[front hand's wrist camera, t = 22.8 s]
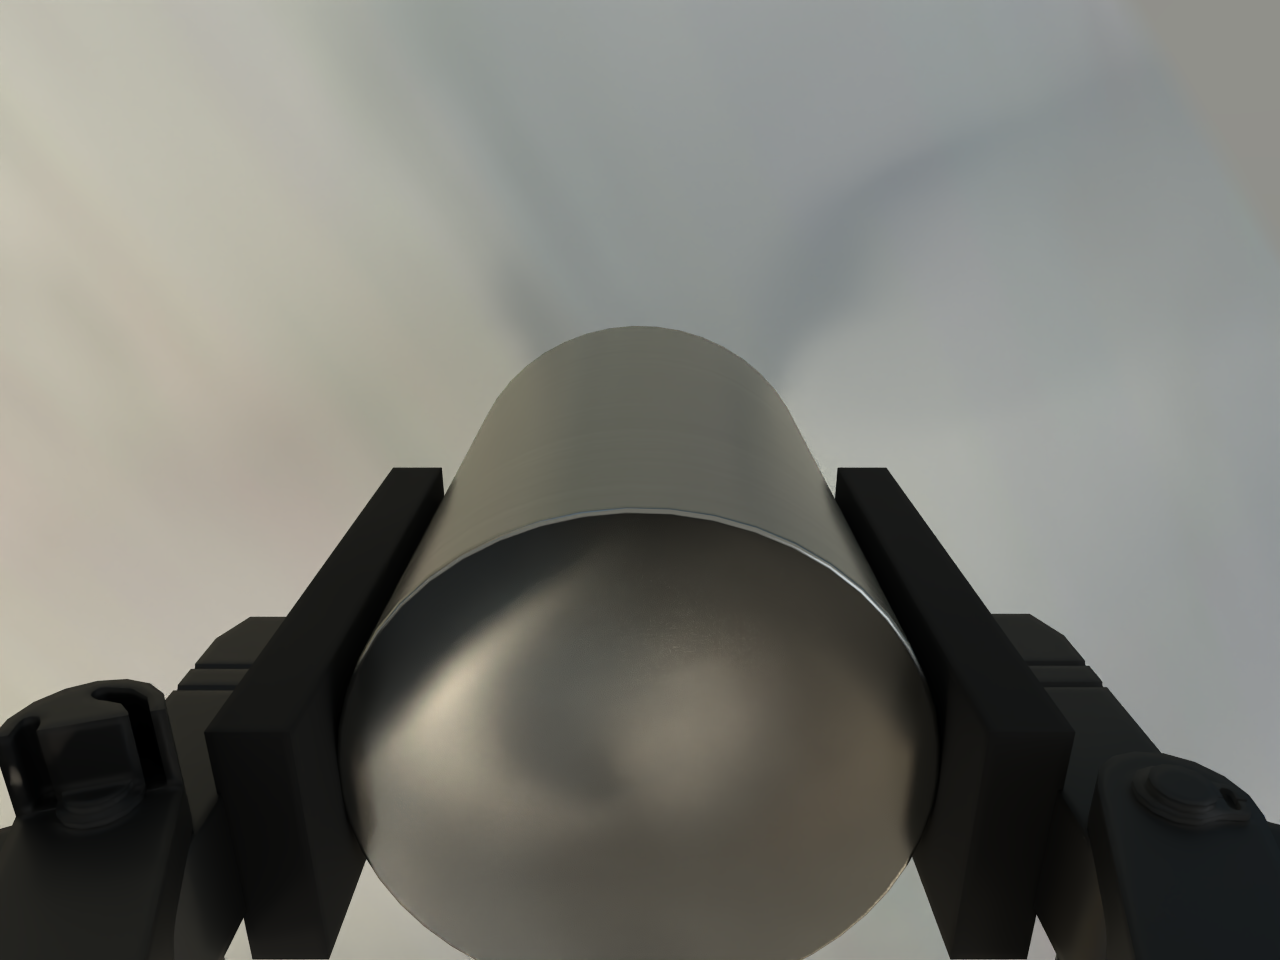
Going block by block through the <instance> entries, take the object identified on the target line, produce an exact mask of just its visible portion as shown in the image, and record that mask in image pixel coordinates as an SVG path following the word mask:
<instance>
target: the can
mask: <svg viewBox="0 0 1280 960" xmlns="http://www.w3.org/2000/svg"><path fill="white" fill-rule="evenodd" d="M337 764H338V771H339V778H340V785H341V792H342V798H343V803H344V806H345V810H346V814H347V817H348V821H349V824H350V826H351V828H352V831H353V833H354V835H355V837H356V839H357V842H358V844H359V846H360V848H361V851H362V853H363V854H364V856H365V857H366V859H367V861H368V862H369V864H370V865H371V867H372V868H373V870H374V872H375V873H376V875H377V876H378V878H379V879H380V881H381V882H382V883H383V884H384V885H385V887H386V888H387V889H388V890H389V891H390V893H391V894H392V895H393V896H394V897H395V898H396V900H397V901H398V902H399V903H400V904H401V905H402V906H403V907H404V908H405V909H406V910H407V911H408V912H409V913H410V914H411V915H413V916H414V917H415V918H416V919H417V920H418V921H419V922H420V923H421V924H422V925H423V926H424V927H426V928H427V929H429V930H430V931H431V932H433V933H434V934H435V935H437V936H438V937H440V938H441V939H442V940H444V941H445V942H446V943H448V944H449V945H451V946H452V947H454V948H456V949H457V950H459V951H461V952H463V953H464V954H466V955H468V956H470V957H471V958H473V959H475V960H802V959H804V958H806V957H808V956H810V955H812V954H814V953H815V952H817V951H818V950H820V949H821V948H823V947H824V946H826V945H828V944H829V943H831V942H832V941H834V940H835V939H837V938H838V937H840V936H841V935H842V934H844V933H845V932H846V931H847V930H848V929H850V928H851V927H852V926H853V925H855V924H856V923H857V922H858V921H859V920H861V919H862V918H863V917H864V916H865V915H867V913H868V912H869V911H870V910H871V909H872V908H873V907H874V906H875V905H876V904H877V903H878V902H879V901H880V900H881V899H882V898H883V896H884V895H885V894H886V893H887V892H888V891H889V890H890V888H891V887H892V886H893V884H894V883H895V882H896V880H897V879H898V877H899V876H900V875H901V873H902V872H903V870H904V869H905V868H906V866H907V865H908V863H909V861H910V859H911V857H912V855H913V854H914V852H915V850H916V848H917V846H918V844H919V842H920V840H921V838H922V837H923V834H924V831H925V828H926V825H927V822H928V820H929V817H930V814H931V811H932V808H933V804H934V799H935V794H936V788H937V783H938V778H939V766H940V736H939V729H938V721H937V714H936V707H935V704H934V701H933V698H932V694H931V691H930V688H929V685H928V681H927V678H926V675H925V673H924V671H923V669H922V667H921V665H920V663H919V661H918V659H917V657H916V655H915V653H914V651H913V649H912V647H911V645H910V643H909V641H908V639H907V637H906V635H905V633H904V631H903V629H902V628H901V626H900V624H899V622H898V620H897V618H896V616H895V614H894V612H893V610H892V608H891V606H890V604H889V603H888V601H887V599H886V597H885V595H884V593H883V591H882V589H881V587H880V585H879V583H878V581H877V579H876V577H875V576H874V574H873V572H872V570H871V568H870V566H869V564H868V562H867V560H866V558H865V556H864V554H863V552H862V551H861V549H860V547H859V545H858V543H857V541H856V539H855V537H854V535H853V533H852V531H851V529H850V527H849V525H848V524H847V522H846V520H845V518H844V516H843V514H842V512H841V510H840V508H839V506H838V504H837V502H836V500H835V498H834V497H833V495H832V493H831V491H830V489H829V487H828V485H827V483H826V481H825V479H824V477H823V475H822V473H821V472H820V470H819V468H818V466H817V464H816V462H815V460H814V458H813V456H812V454H811V452H810V450H809V448H808V446H807V445H806V443H805V441H804V439H803V437H802V435H801V433H800V431H799V429H798V427H797V425H796V423H795V421H794V420H793V418H792V416H791V414H790V412H789V410H788V408H787V406H786V405H785V403H784V402H783V401H782V399H781V398H780V396H779V395H778V393H777V392H776V390H775V389H774V388H773V387H772V386H771V385H770V384H769V382H768V381H767V380H766V379H765V378H764V377H763V376H762V375H761V374H760V373H759V372H758V371H757V370H756V369H754V368H753V367H752V366H751V365H750V364H748V363H747V362H746V361H745V360H743V359H742V358H741V357H739V356H737V355H736V354H734V353H733V352H731V351H729V350H728V349H726V348H724V347H723V346H721V345H718V344H716V343H714V342H712V341H709V340H707V339H705V338H703V337H700V336H696V335H693V334H690V333H686V332H683V331H680V330H674V329H667V328H661V327H648V326H628V327H618V328H609V329H605V330H600V331H596V332H592V333H588V334H585V335H582V336H579V337H577V338H574V339H571V340H569V341H566V342H564V343H562V344H560V345H558V346H556V347H555V348H553V349H551V350H549V351H547V352H545V353H544V354H542V355H541V356H540V357H538V358H537V359H536V360H534V361H533V362H531V363H530V364H529V365H527V366H526V367H525V368H524V369H523V370H522V371H521V372H520V373H519V374H518V375H517V376H516V377H515V378H514V379H512V380H511V381H510V383H509V384H508V385H507V386H506V388H505V389H504V390H503V391H502V393H501V394H500V395H499V397H498V398H497V399H496V401H495V403H494V404H493V406H492V408H491V410H490V411H489V413H488V415H487V416H486V418H485V420H484V422H483V424H482V426H481V428H480V430H479V431H478V433H477V435H476V437H475V439H474V441H473V443H472V445H471V447H470V449H469V450H468V452H467V454H466V456H465V458H464V460H463V462H462V464H461V466H460V467H459V469H458V471H457V473H456V475H455V477H454V479H453V481H452V483H451V485H450V486H449V488H448V490H447V492H446V494H445V496H444V498H443V500H442V502H441V504H440V505H439V507H438V509H437V511H436V513H435V515H434V517H433V519H432V521H431V522H430V524H429V526H428V528H427V530H426V532H425V534H424V536H423V538H422V540H421V541H420V543H419V545H418V547H417V549H416V551H415V553H414V555H413V557H412V558H411V560H410V562H409V564H408V566H407V568H406V570H405V572H404V574H403V576H402V577H401V579H400V581H399V583H398V585H397V587H396V589H395V591H394V593H393V595H392V596H391V598H390V600H389V602H388V604H387V606H386V608H385V610H384V612H383V613H382V615H381V617H380V619H379V621H378V623H377V625H376V627H375V629H374V631H373V632H372V634H371V636H370V638H369V640H368V642H367V644H366V646H365V648H364V649H363V651H362V653H361V655H360V657H359V659H358V661H357V663H356V666H355V669H354V671H353V674H352V676H351V679H350V681H349V684H348V686H347V689H346V692H345V695H344V700H343V705H342V709H341V714H340V719H339V723H338V738H337Z"/></svg>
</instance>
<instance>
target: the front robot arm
mask: <svg viewBox="0 0 1280 960" xmlns="http://www.w3.org/2000/svg"><path fill="white" fill-rule="evenodd" d="M443 498H444V488H443V476H442V468H393V469H392V470H391V471H390V473H389V474H388V476H387V477H386V478H385V480H384V481H383V483H382V484H381V485H380V487H379V488H378V490H377V491H376V492H375V494H374V495H373V497H372V498H371V499H370V501H369V502H368V504H367V505H366V506H365V508H364V509H363V511H362V512H361V513H360V515H359V516H358V517H357V519H356V520H355V522H354V523H353V524H352V526H351V527H350V529H349V530H348V531H347V533H346V534H345V536H344V537H343V538H342V540H341V541H340V543H339V544H338V545H337V547H336V548H335V550H334V551H333V552H332V554H331V555H330V557H329V558H328V559H327V561H326V562H325V564H324V565H323V566H322V568H321V569H320V571H319V572H318V573H317V575H316V576H315V577H314V579H313V580H312V582H311V583H310V584H309V586H308V587H307V589H306V590H305V591H304V593H303V594H302V596H301V597H300V598H299V600H298V601H297V603H296V604H295V605H294V607H293V608H292V610H291V611H290V612H289V614H288V615H287V617H249V618H248V619H246V620H245V621H243V622H241V623H240V624H238V625H237V626H235V627H234V628H232V629H230V630H229V631H227V632H226V633H224V634H222V635H221V636H219V637H218V638H216V639H215V640H214V642H213V643H212V644H211V645H210V646H209V648H208V649H207V650H206V651H205V653H204V654H203V655H202V656H201V657H200V659H199V660H198V661H197V662H196V663H195V669H191V670H190V671H189V672H188V673H187V674H186V676H185V677H184V678H183V679H182V681H181V682H180V683H179V684H178V689H177V691H172V693H171V694H170V695H169V696H168V698H167V699H166V700H165V698H164V694H163V693H162V692H161V691H159V690H158V689H157V688H155V687H154V686H153V685H151V684H150V683H145V682H140V681H134V680H129V679H121V680H105V681H96V682H91V683H87V684H83V685H79V686H75V687H71V688H67V689H64V690H61V691H59V692H57V693H54V694H52V695H50V696H47V697H45V698H42V699H40V700H38V701H35V702H33V703H32V704H30V705H29V706H27V707H26V708H24V709H23V710H21V711H19V712H18V713H16V714H15V715H13V716H12V717H10V718H9V719H7V721H6V722H5V723H4V724H3V725H2V726H1V727H0V768H1V771H2V774H3V777H4V780H5V783H6V786H7V790H8V793H9V796H10V799H11V802H12V805H13V808H14V811H15V814H16V818H15V820H14V823H13V825H12V826H9V827H5V828H2V829H0V960H225V958H224V956H225V954H226V952H227V950H228V948H229V946H230V944H231V942H232V940H233V938H234V936H235V934H236V932H237V930H238V928H239V926H240V924H241V922H242V920H243V918H244V922H245V926H246V931H247V936H248V940H249V945H250V949H251V954H252V959H329V958H330V955H331V953H332V950H333V947H334V945H335V942H336V939H337V937H338V934H339V931H340V928H341V926H342V923H343V920H344V918H345V915H346V912H347V910H348V907H349V904H350V902H351V899H352V896H353V893H354V891H355V888H356V885H357V883H358V880H359V877H360V875H361V872H362V869H363V867H364V864H365V861H366V857H365V856H364V854H363V853H362V851H361V848H360V846H359V844H358V842H357V839H356V837H355V835H354V833H353V831H352V828H351V826H350V824H349V821H348V817H347V814H346V810H345V806H344V803H343V798H342V792H341V785H340V778H339V771H338V764H337V738H338V723H339V719H340V714H341V709H342V705H343V700H344V695H345V692H346V689H347V686H348V684H349V681H350V679H351V676H352V674H353V671H354V669H355V666H356V663H357V661H358V659H359V657H360V655H361V653H362V651H363V649H364V648H365V646H366V644H367V642H368V640H369V638H370V636H371V634H372V632H373V631H374V629H375V627H376V625H377V623H378V621H379V619H380V617H381V615H382V613H383V612H384V610H385V608H386V606H387V604H388V602H389V600H390V598H391V596H392V595H393V593H394V591H395V589H396V587H397V585H398V583H399V581H400V579H401V577H402V576H403V574H404V572H405V570H406V568H407V566H408V564H409V562H410V560H411V558H412V557H413V555H414V553H415V551H416V549H417V547H418V545H419V543H420V541H421V540H422V538H423V536H424V534H425V532H426V530H427V528H428V526H429V524H430V522H431V521H432V519H433V517H434V515H435V513H436V511H437V509H438V507H439V505H440V504H441V502H442V500H443ZM835 500H836V502H837V504H838V506H839V508H840V510H841V512H842V514H843V516H844V518H845V520H846V522H847V524H848V525H849V527H850V529H851V531H852V533H853V535H854V537H855V539H856V541H857V543H858V545H859V547H860V549H861V551H862V552H863V554H864V556H865V558H866V560H867V562H868V564H869V566H870V568H871V570H872V572H873V574H874V576H875V577H876V579H877V581H878V583H879V585H880V587H881V589H882V591H883V593H884V595H885V597H886V599H887V601H888V603H889V604H890V606H891V608H892V610H893V612H894V614H895V616H896V618H897V620H898V622H899V624H900V626H901V628H902V629H903V631H904V633H905V635H906V637H907V639H908V641H909V643H910V645H911V647H912V649H913V651H914V653H915V655H916V657H917V659H918V661H919V663H920V665H921V667H922V669H923V671H924V673H925V675H926V678H927V681H928V685H929V688H930V691H931V694H932V698H933V701H934V704H935V707H936V714H937V721H938V729H939V736H940V766H939V778H938V783H937V788H936V794H935V799H934V804H933V808H932V811H931V814H930V817H929V820H928V822H927V825H926V828H925V831H924V834H923V837H922V838H921V840H920V842H919V844H918V846H917V848H916V850H915V852H914V854H913V855H912V857H913V860H914V863H915V865H916V868H917V871H918V873H919V876H920V879H921V881H922V884H923V887H924V890H925V892H926V895H927V898H928V900H929V903H930V906H931V908H932V911H933V914H934V916H935V919H936V922H937V925H938V927H939V930H940V933H941V935H942V938H943V941H944V943H945V946H946V949H947V951H948V954H949V957H950V959H1027V956H1028V951H1029V947H1030V942H1031V937H1032V933H1033V928H1034V923H1035V919H1036V914H1037V916H1038V918H1039V920H1040V922H1041V924H1042V926H1043V928H1044V930H1045V932H1046V934H1047V936H1048V938H1049V940H1050V942H1051V944H1052V946H1053V948H1054V950H1055V952H1056V958H1055V960H1280V825H1278V824H1274V823H1271V822H1267V821H1266V819H1265V816H1264V815H1263V813H1262V812H1261V811H1260V809H1259V808H1258V807H1257V805H1256V804H1255V802H1254V801H1253V800H1252V798H1251V797H1250V796H1249V795H1248V794H1247V793H1246V792H1244V791H1243V790H1242V789H1240V788H1239V787H1238V786H1236V785H1235V784H1234V783H1232V782H1231V781H1230V780H1228V779H1227V778H1226V777H1225V776H1222V775H1220V774H1218V773H1216V772H1214V771H1212V770H1210V769H1208V768H1206V767H1204V766H1202V765H1200V764H1198V763H1196V762H1193V761H1189V760H1186V759H1182V758H1178V757H1175V756H1171V755H1168V754H1164V753H1161V752H1160V751H1159V750H1158V748H1157V747H1156V746H1155V745H1154V744H1153V742H1152V741H1151V740H1150V739H1149V738H1148V736H1147V735H1146V734H1145V733H1144V732H1143V730H1142V729H1141V728H1140V727H1139V725H1138V724H1137V723H1136V722H1135V721H1134V719H1133V718H1132V717H1131V716H1130V715H1129V713H1128V712H1127V711H1126V710H1125V709H1124V707H1123V706H1122V705H1121V704H1120V703H1119V701H1118V700H1117V699H1116V698H1115V697H1114V695H1113V694H1112V693H1111V692H1110V690H1109V689H1108V688H1107V687H1103V686H1102V681H1101V680H1100V678H1099V677H1098V676H1097V675H1096V674H1095V672H1094V671H1093V670H1092V669H1091V668H1090V666H1085V660H1084V659H1083V658H1082V657H1081V655H1080V654H1079V653H1078V652H1077V651H1076V649H1075V648H1074V647H1073V646H1072V645H1071V643H1070V642H1069V641H1068V640H1067V639H1066V637H1065V636H1064V635H1062V634H1061V633H1059V632H1058V631H1056V630H1054V629H1053V628H1051V627H1050V626H1048V625H1046V624H1045V623H1043V622H1042V621H1040V620H1038V619H1037V618H1035V617H1034V616H1032V615H1031V614H991V613H990V612H989V610H988V609H987V608H986V606H985V605H984V603H983V602H982V601H981V599H980V598H979V596H978V595H977V594H976V592H975V591H974V589H973V588H972V587H971V585H970V584H969V582H968V581H967V580H966V578H965V577H964V575H963V574H962V573H961V571H960V570H959V568H958V567H957V566H956V564H955V563H954V562H953V560H952V559H951V557H950V556H949V555H948V553H947V552H946V550H945V549H944V548H943V546H942V545H941V543H940V542H939V541H938V539H937V538H936V536H935V535H934V534H933V532H932V531H931V529H930V528H929V527H928V525H927V524H926V522H925V521H924V520H923V518H922V517H921V515H920V514H919V513H918V511H917V510H916V508H915V507H914V506H913V504H912V503H911V501H910V500H909V499H908V497H907V496H906V494H905V493H904V492H903V490H902V489H901V488H900V486H899V485H898V483H897V482H896V481H895V479H894V478H893V476H892V475H891V474H890V472H889V471H888V469H887V468H838V470H837V482H836V494H835Z"/></svg>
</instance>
